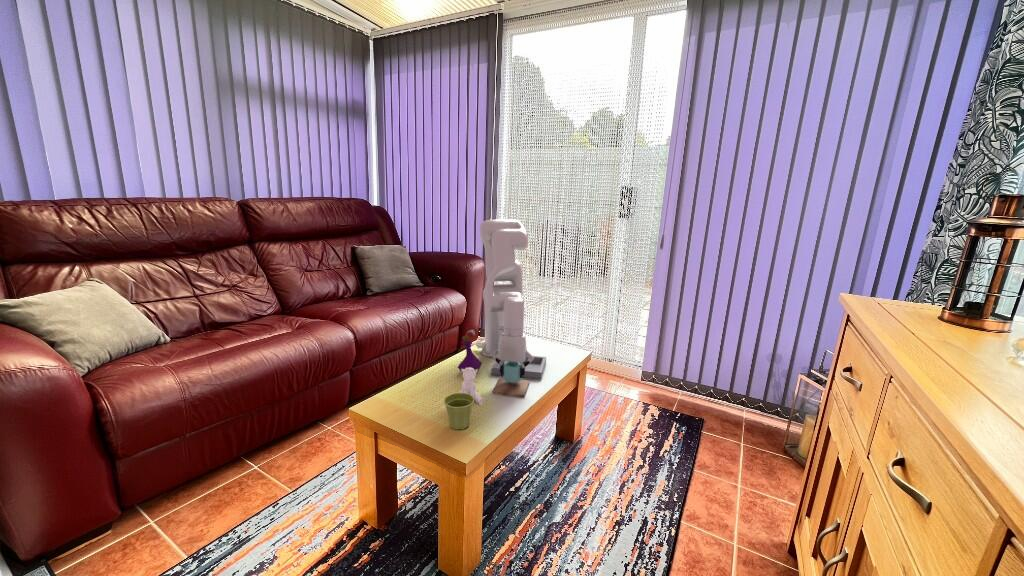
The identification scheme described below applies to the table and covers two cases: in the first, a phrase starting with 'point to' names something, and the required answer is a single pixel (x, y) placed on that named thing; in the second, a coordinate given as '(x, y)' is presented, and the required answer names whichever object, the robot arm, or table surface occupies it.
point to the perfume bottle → (469, 355)
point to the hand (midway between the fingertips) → (512, 375)
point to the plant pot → (459, 409)
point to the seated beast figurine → (470, 384)
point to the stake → (511, 388)
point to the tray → (527, 368)
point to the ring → (511, 371)
